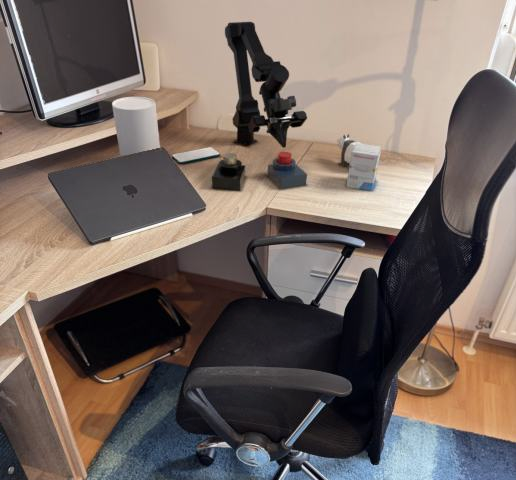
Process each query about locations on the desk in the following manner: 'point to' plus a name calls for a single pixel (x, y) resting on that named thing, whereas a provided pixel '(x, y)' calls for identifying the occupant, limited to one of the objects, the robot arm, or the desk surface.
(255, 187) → the desk surface
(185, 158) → the smartphone
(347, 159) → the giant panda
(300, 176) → the box
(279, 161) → the button
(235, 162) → the light button
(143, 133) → the canister
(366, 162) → the ink box
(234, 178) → the light box
